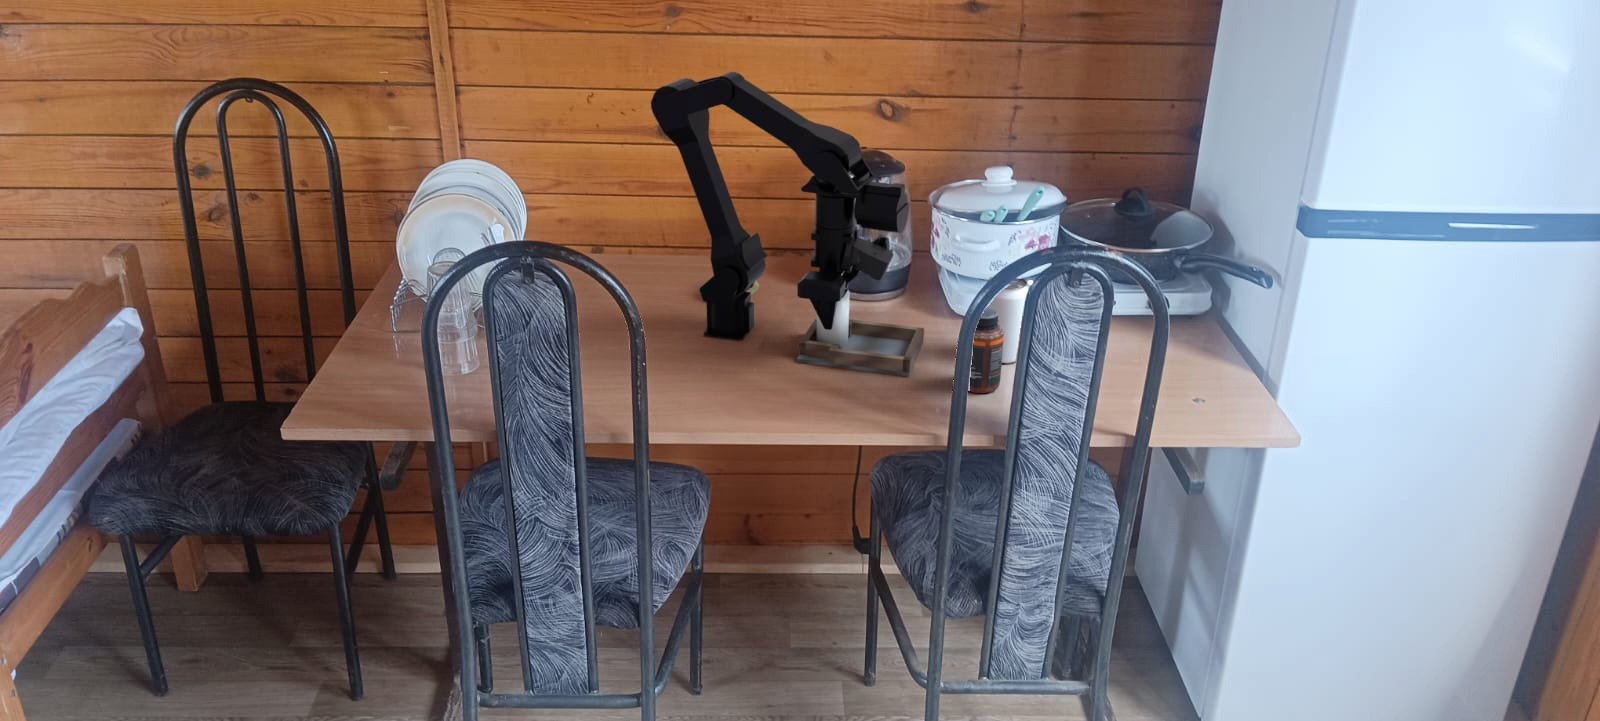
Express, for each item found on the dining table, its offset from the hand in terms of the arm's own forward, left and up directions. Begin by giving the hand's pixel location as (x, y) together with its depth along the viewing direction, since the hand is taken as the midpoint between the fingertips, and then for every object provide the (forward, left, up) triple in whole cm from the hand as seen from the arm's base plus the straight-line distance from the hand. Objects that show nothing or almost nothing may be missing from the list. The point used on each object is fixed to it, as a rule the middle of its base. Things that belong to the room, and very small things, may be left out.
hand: (832, 322), depth 173 cm
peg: (0, 0, -3) cm, 3 cm away
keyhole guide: (+5, 0, -4) cm, 6 cm away
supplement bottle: (+23, -6, -5) cm, 24 cm away
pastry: (-21, +17, -5) cm, 28 cm away
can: (+25, +5, -5) cm, 26 cm away
